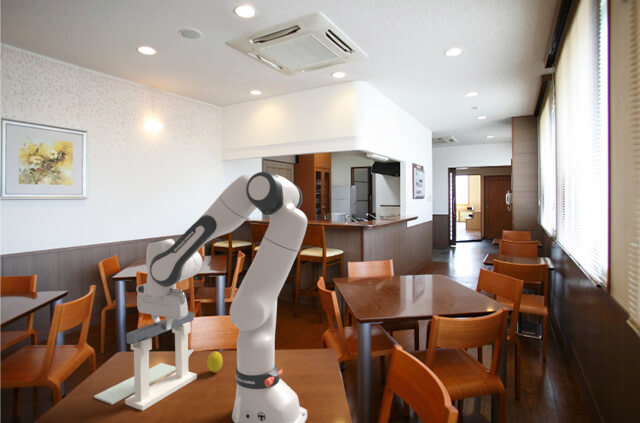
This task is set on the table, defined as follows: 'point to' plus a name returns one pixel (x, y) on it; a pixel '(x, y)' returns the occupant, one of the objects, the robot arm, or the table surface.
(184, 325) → the rack
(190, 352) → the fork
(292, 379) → the table surface
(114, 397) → the mat
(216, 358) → the lemon
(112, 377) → the table surface
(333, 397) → the table surface
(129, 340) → the rail
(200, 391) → the table surface
